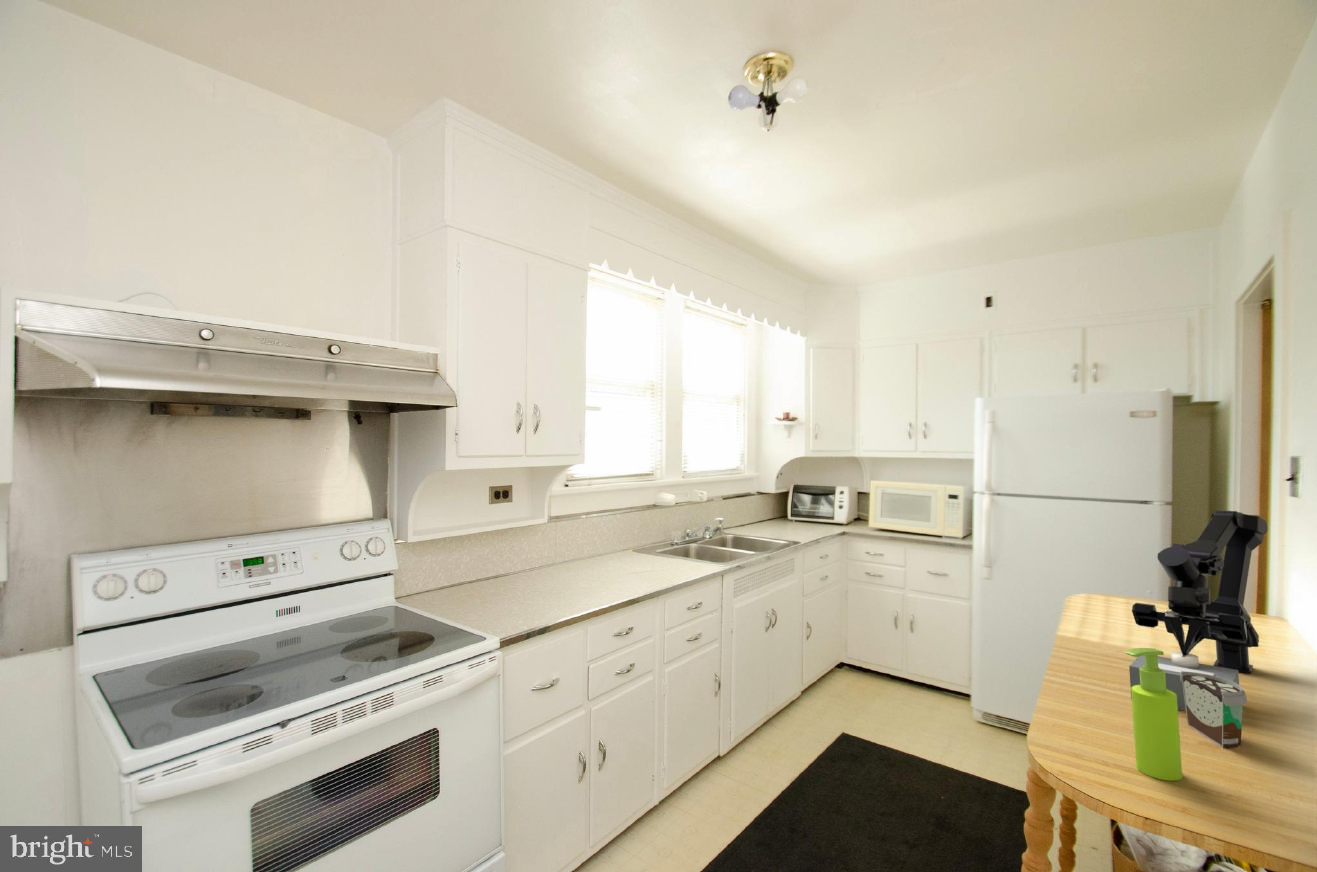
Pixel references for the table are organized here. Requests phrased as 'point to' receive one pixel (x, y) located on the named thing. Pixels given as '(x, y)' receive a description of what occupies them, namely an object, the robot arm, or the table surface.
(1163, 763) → the soap dispenser
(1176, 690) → the console
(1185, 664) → the knob
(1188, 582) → the robot arm
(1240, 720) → the food container
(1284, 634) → the table surface
